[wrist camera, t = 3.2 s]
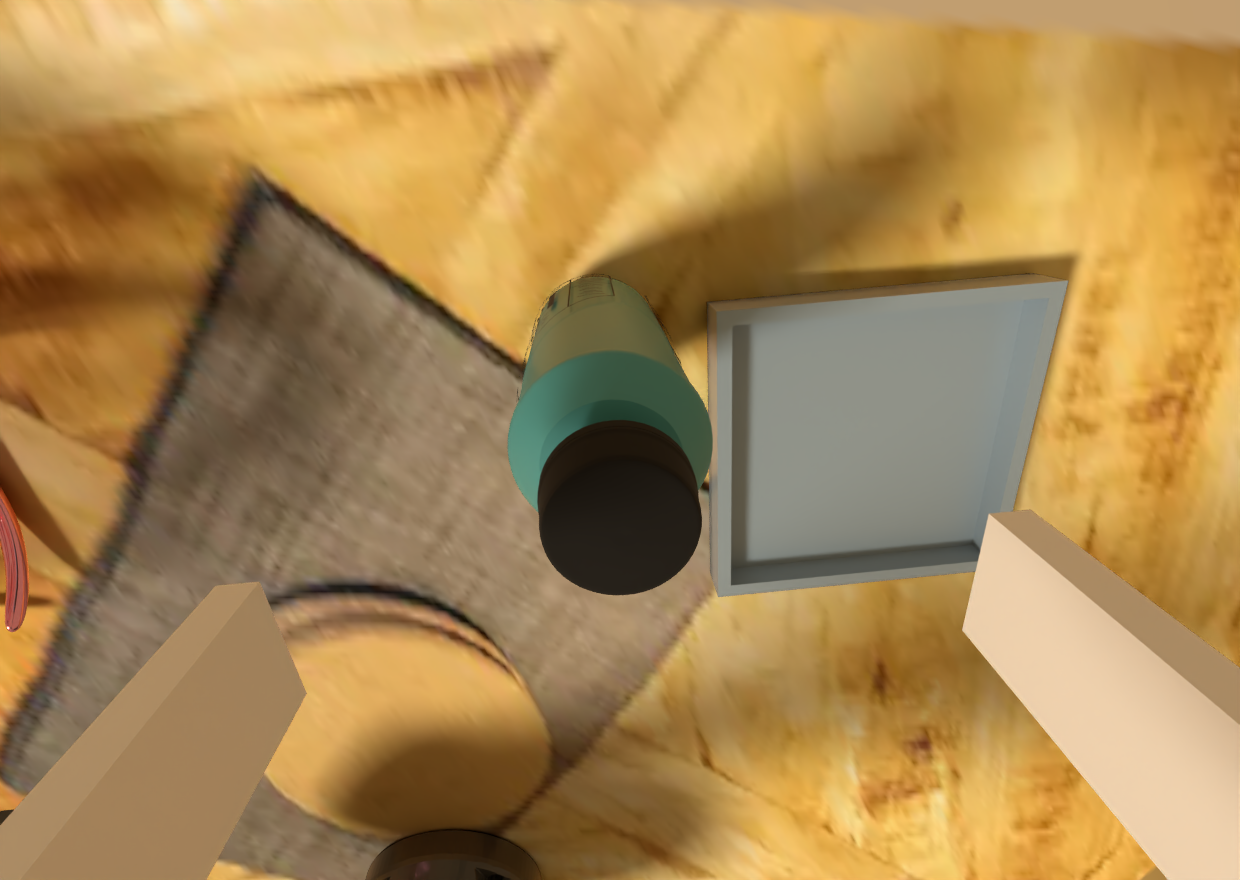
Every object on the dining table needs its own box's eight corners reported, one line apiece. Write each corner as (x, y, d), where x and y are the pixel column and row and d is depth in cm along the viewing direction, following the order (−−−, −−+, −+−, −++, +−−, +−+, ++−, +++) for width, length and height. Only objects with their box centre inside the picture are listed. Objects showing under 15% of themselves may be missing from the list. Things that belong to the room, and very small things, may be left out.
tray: (710, 572, 39) (718, 596, 36) (707, 301, 31) (716, 311, 29) (974, 546, 39) (998, 569, 37) (1033, 273, 32) (1068, 280, 29)
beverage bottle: (546, 255, 30) (489, 376, 11) (671, 282, 31) (799, 432, 12) (528, 375, 32) (457, 628, 14) (643, 396, 33) (717, 658, 15)
